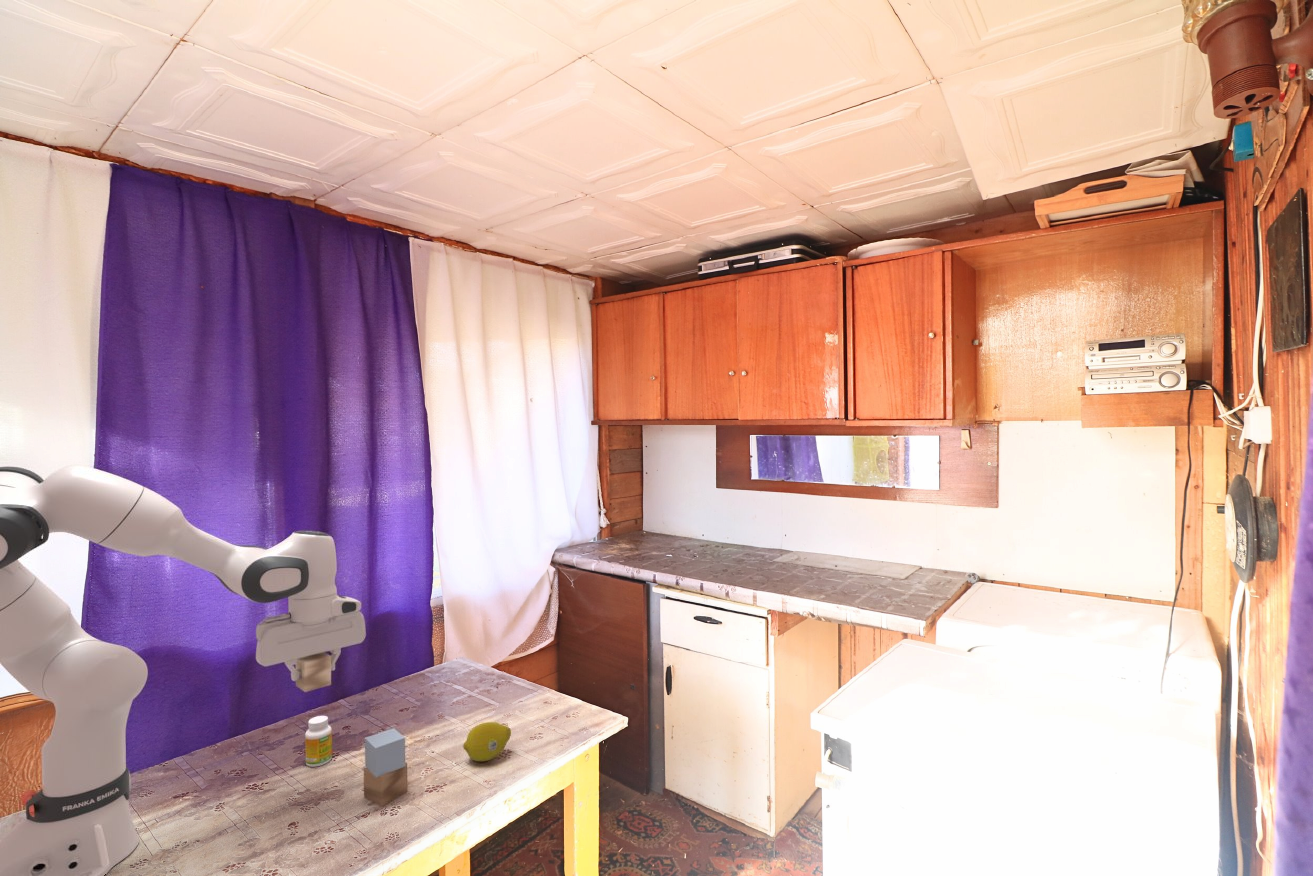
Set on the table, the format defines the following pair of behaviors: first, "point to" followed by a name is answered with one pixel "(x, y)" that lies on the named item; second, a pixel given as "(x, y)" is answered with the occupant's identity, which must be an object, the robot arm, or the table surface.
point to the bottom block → (385, 785)
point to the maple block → (314, 671)
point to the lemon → (486, 741)
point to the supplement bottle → (318, 742)
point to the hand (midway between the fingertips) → (313, 675)
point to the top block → (385, 752)
